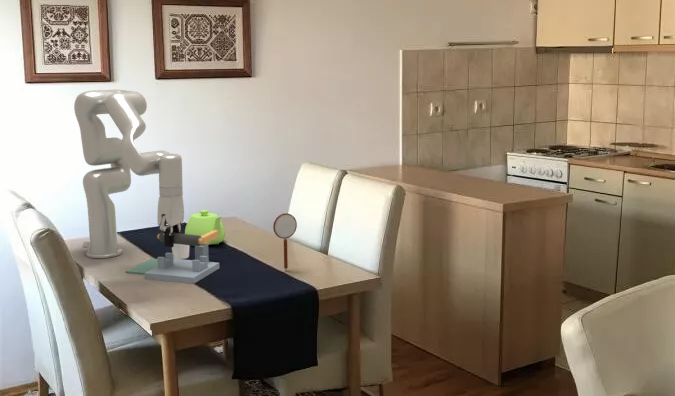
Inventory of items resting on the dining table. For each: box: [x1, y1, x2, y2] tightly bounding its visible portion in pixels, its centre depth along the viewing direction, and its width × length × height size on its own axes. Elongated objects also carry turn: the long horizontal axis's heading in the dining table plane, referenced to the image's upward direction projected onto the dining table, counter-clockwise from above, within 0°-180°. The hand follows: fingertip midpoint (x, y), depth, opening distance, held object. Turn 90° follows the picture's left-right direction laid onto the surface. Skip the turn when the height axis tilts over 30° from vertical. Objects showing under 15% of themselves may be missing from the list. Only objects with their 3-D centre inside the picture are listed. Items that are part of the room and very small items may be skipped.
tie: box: [201, 230, 219, 245], centre depth 258 cm, size 2×11×2 cm, turn 162°
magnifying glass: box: [272, 212, 298, 272], centre depth 250 cm, size 9×2×20 cm, turn 120°
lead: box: [156, 231, 204, 247], centre depth 248 cm, size 16×4×4 cm, turn 72°
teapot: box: [184, 209, 226, 246], centre depth 287 cm, size 22×15×13 cm
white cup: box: [171, 244, 191, 260], centre depth 269 cm, size 7×7×7 cm
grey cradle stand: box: [144, 244, 220, 285], centre depth 249 cm, size 18×18×8 cm
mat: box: [125, 258, 158, 276], centre depth 257 cm, size 8×16×1 cm, turn 162°
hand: (172, 244), depth 249 cm, fingers closed on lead, 3 cm apart
